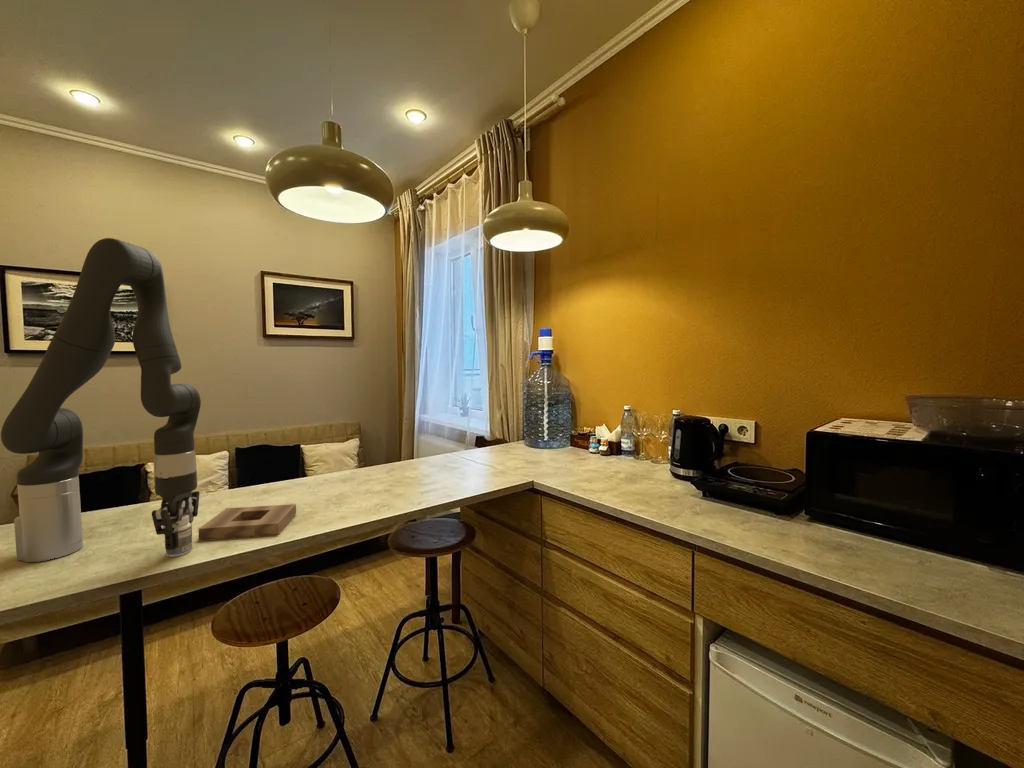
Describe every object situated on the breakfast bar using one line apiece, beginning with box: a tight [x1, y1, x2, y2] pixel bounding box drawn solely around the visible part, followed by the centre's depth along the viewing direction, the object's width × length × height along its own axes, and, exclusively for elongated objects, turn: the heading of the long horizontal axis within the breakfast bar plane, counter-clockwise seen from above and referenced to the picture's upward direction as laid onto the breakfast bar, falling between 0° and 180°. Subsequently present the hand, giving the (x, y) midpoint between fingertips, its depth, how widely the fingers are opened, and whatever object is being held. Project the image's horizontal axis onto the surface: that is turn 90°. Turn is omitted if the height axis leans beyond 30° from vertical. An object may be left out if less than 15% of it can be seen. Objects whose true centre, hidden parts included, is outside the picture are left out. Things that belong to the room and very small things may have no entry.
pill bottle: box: [165, 514, 193, 558], centre depth 93 cm, size 5×5×8 cm
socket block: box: [198, 503, 297, 541], centre depth 108 cm, size 18×14×3 cm
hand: (179, 543), depth 94 cm, fingers closed on pill bottle, 4 cm apart
